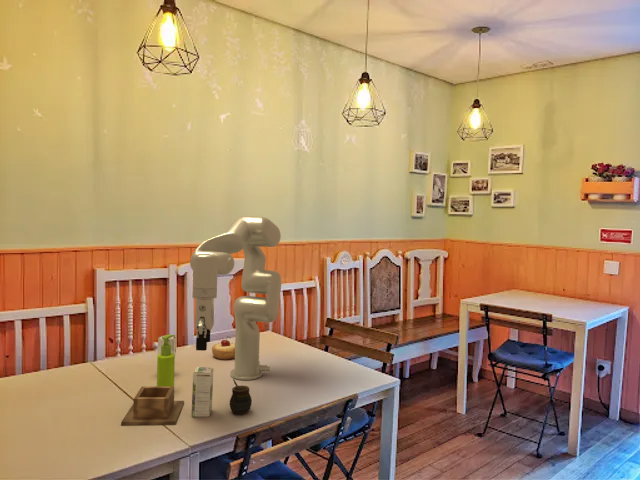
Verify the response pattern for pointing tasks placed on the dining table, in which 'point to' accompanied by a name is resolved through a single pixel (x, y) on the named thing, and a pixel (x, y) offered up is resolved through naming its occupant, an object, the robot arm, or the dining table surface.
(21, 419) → the dining table surface
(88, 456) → the dining table surface
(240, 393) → the mate gourd
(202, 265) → the robot arm
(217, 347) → the pastry
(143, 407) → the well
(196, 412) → the syrup box
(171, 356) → the soap dispenser
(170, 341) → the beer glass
